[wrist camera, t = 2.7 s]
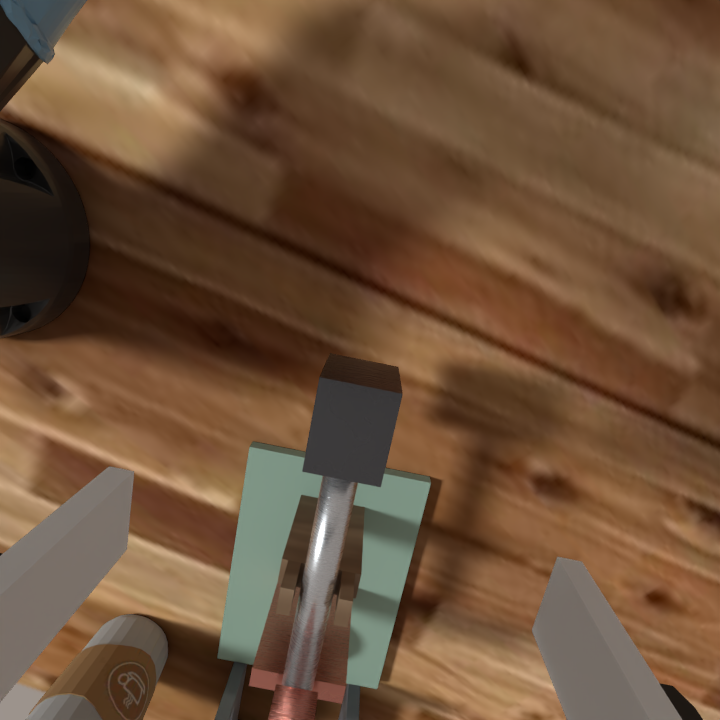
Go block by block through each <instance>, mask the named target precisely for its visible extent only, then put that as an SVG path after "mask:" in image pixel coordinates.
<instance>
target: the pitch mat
mask: <svg viewBox="0 0 720 720" xmlns="http://www.w3.org/2000/svg"><path fill="white" fill-rule="evenodd" d="M305 453H306V452H303V451H298V450H293V449H288V448H283V447H278V446H273V445H268V444H263V443H258V442H252V444H251V446H250V448H249V455H248V461H247V468H246V474H245V481H244V487H243V494H242V500H241V507H240V513H239V520H238V526H237V533H236V539H235V546H234V552H233V559H232V565H231V572H230V578H229V585H228V591H227V598H226V604H225V611H224V617H223V624H222V630H221V637H220V643H219V650H218V656H217V658H219V659H224V660H229V661H234V662H239V663H244V664H250V665H253V663H254V660H255V657H256V653H257V650H258V646H259V643H260V640H261V636H262V633H263V630H264V626H265V623H266V619H267V616H268V613H269V609H270V606H271V603H272V599H273V596H274V592H275V589H276V586H277V582H278V577H279V572H280V566H281V561H282V557H283V553H284V550H285V547H286V544H287V540H288V537H289V534H290V530H291V527H292V524H293V520H294V517H295V514H296V511H297V507H298V504H299V501H300V497H301V495H306V496H311V497H316V498H318V497H319V492H320V487H321V482H322V477H323V476H321V475H316V474H311V473H306V472H302V470H303V464H304V459H305ZM430 485H431V481H430V477H429V476H424V475H419V474H414V473H409V472H404V471H399V470H394V469H389V468H385V472H384V476H383V480H382V484H381V487H376V486H371V485H366V484H361V483H358V485H357V490H356V494H355V499H354V503H353V505H356V506H361V507H365V513H364V533H363V553H362V572H361V578H360V583H359V587H358V591H357V595H356V599H355V598H353V604H352V611H351V624H350V638H349V652H348V666H347V680H346V683H347V684H353V685H358V686H363V687H368V688H373V689H377V688H378V684H379V680H380V677H381V673H382V669H383V665H384V661H385V657H386V654H387V650H388V646H389V642H390V638H391V634H392V631H393V627H394V623H395V619H396V615H397V611H398V608H399V604H400V600H401V596H402V592H403V588H404V585H405V581H406V577H407V573H408V569H409V565H410V562H411V558H412V554H413V550H414V546H415V542H416V538H417V535H418V531H419V527H420V523H421V519H422V515H423V512H424V508H425V504H426V500H427V496H428V492H429V489H430Z"/></svg>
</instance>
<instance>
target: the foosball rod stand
mask: <svg viewBox="0 0 720 720" xmlns="http://www.w3.org/2000/svg"><path fill="white" fill-rule="evenodd" d="M401 398H402V387H401V381H400V375H399V369H398V367H396V366H391V365H386V364H381V363H376V362H371V361H366V360H361V359H356V358H351V357H346V356H341V355H336V354H332V353H330V354H329V357H328V359H327V361H326V364H325V366H324V368H323V371H322V373H321V375H320V378H319V383H318V389H317V394H316V400H315V405H314V410H313V416H312V421H311V427H310V432H309V437H308V443H307V448H306V453H305V459H304V464H303V470H302V472H306V473H311V474H316V475H321V476H323V477H322V482H321V487H320V492H319V497H318V502H317V507H316V512H315V517H314V522H313V527H312V532H311V538H310V543H309V548H308V553H307V558H306V563H305V568H304V573H303V578H302V583H301V588H299V587H296V590H295V594H294V598H293V603H292V607H291V611H290V615H289V616H286V615H281V614H276V609H277V604H278V598H279V593H280V587H281V584H279V583H278V582H277V586H276V589H275V592H274V596H273V599H272V603H271V606H270V609H269V613H268V616H267V619H266V623H265V626H264V630H263V633H262V636H261V640H260V643H259V646H258V650H257V653H256V657H255V660H254V663H253V667H252V671H251V677H250V683H249V686H253V687H258V688H263V689H268V690H273V691H274V696H273V700H272V704H271V709H270V713H269V717H268V720H315V714H316V706H317V699H320V700H325V701H330V702H335V703H340V704H342V701H343V697H344V693H345V689H346V680H347V666H348V652H349V638H350V624H351V613H350V617H349V621H348V626H347V627H342V626H337V625H334V616H335V608H336V599H337V595H335V594H334V590H335V586H336V581H337V576H338V572H339V567H340V563H341V558H342V554H343V549H344V544H345V540H346V535H347V531H348V526H349V522H350V517H351V512H352V508H353V503H354V499H355V494H356V490H357V485H358V483H361V484H366V485H371V486H376V487H381V484H382V480H383V476H384V472H385V467H386V463H387V459H388V454H389V450H390V446H391V441H392V437H393V433H394V429H395V424H396V420H397V416H398V411H399V407H400V403H401ZM351 611H352V608H351Z"/></svg>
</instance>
